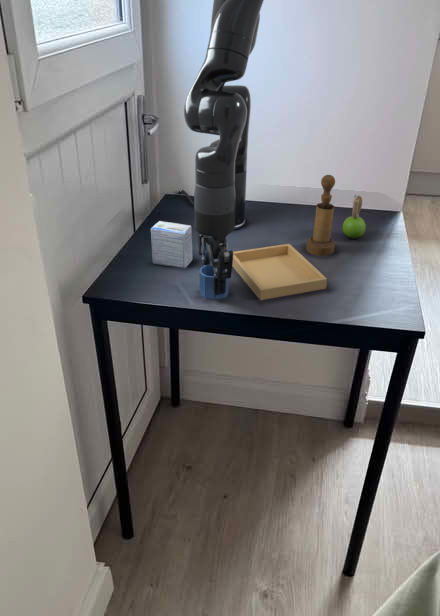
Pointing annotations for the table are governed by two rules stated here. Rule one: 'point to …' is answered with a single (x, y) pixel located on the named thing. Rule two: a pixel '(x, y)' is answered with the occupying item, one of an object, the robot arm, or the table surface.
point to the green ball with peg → (354, 221)
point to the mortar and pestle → (323, 222)
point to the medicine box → (171, 244)
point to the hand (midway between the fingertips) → (214, 285)
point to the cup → (210, 284)
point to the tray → (277, 271)
